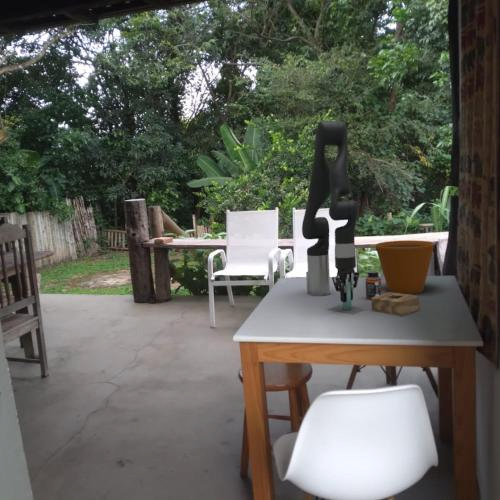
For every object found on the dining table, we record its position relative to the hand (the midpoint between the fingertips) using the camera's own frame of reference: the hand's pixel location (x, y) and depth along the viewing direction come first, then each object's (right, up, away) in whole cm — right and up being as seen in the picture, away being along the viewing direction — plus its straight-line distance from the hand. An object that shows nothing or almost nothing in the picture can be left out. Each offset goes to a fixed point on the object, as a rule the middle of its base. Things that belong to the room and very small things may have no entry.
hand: (346, 300), depth 180 cm
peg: (0, -3, 0) cm, 3 cm away
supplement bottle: (+14, -1, +15) cm, 20 cm away
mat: (0, -4, 0) cm, 4 cm away
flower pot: (+31, +2, +29) cm, 42 cm away
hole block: (+17, -3, -3) cm, 18 cm away
